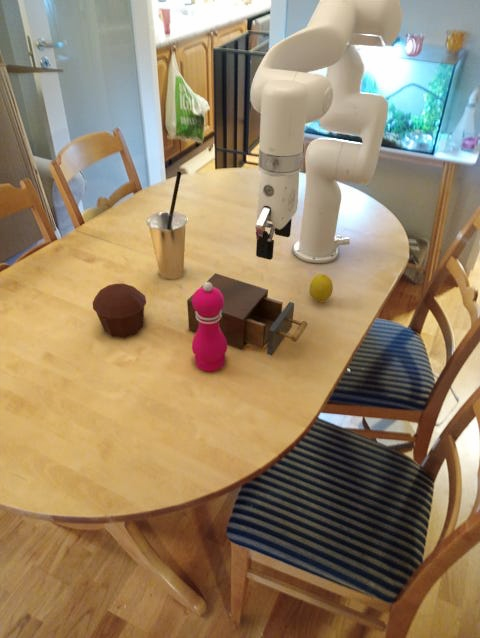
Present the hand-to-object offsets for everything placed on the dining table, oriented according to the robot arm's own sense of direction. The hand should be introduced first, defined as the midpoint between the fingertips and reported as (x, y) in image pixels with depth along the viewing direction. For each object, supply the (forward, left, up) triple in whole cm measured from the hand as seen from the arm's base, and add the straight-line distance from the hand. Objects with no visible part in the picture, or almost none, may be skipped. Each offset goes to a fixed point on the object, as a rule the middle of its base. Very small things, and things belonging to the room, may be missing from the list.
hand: (273, 246), depth 93 cm
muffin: (+31, -11, -22) cm, 40 cm away
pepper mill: (+15, +6, -22) cm, 27 cm away
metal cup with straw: (+16, -29, -22) cm, 40 cm away
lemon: (-16, -7, -22) cm, 28 cm away
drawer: (+1, +2, -21) cm, 21 cm away
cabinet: (+8, -5, -22) cm, 24 cm away
